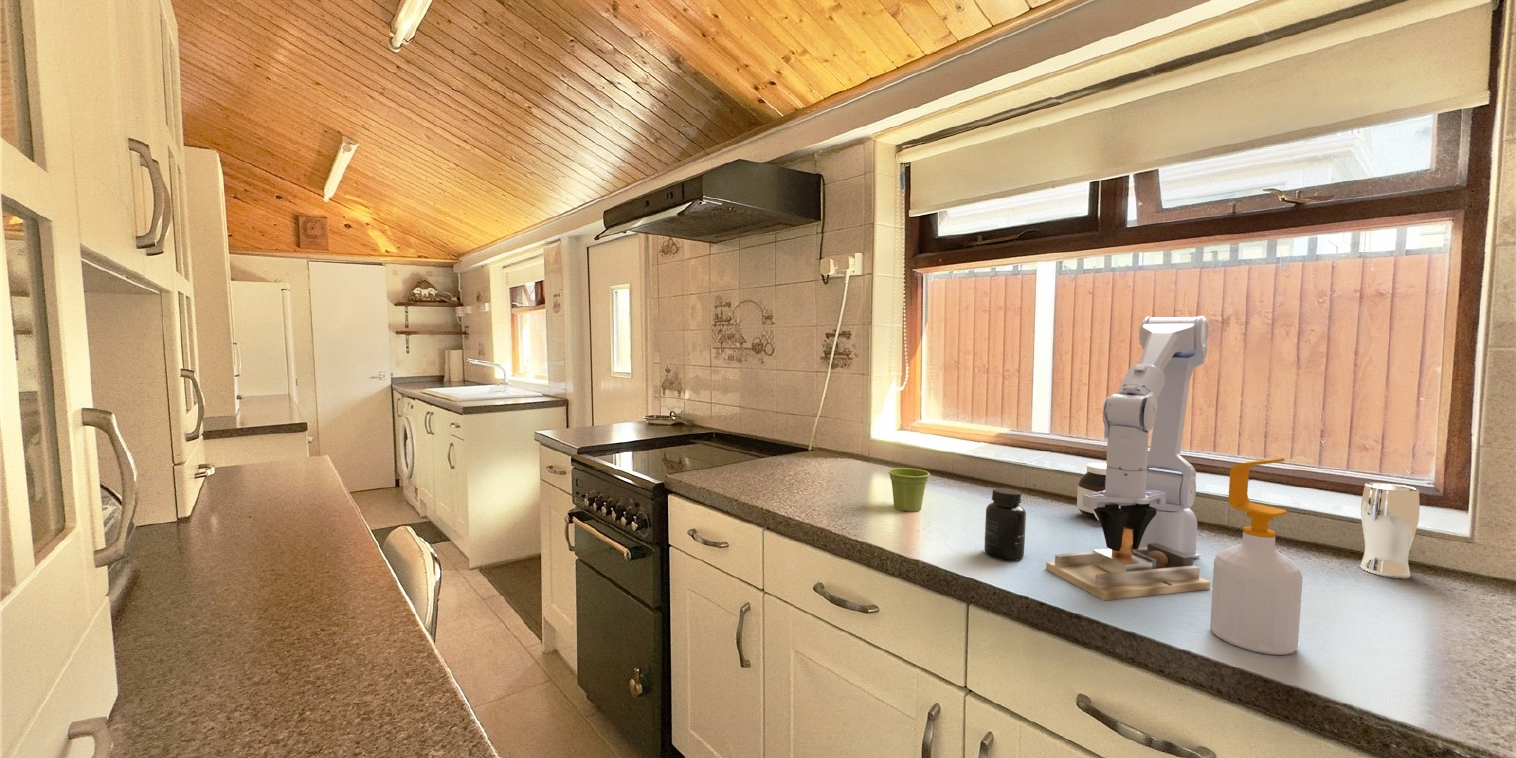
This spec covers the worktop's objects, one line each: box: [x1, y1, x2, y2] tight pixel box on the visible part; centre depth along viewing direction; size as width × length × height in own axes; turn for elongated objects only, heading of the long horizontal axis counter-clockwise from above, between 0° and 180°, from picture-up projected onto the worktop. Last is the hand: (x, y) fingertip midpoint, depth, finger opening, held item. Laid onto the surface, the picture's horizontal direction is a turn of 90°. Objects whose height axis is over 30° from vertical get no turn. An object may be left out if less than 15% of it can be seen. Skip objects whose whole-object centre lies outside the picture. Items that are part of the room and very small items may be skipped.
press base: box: [1045, 543, 1211, 601], centre depth 102 cm, size 20×13×4 cm, turn 103°
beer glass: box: [1359, 481, 1421, 580], centre depth 106 cm, size 7×7×15 cm
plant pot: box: [887, 467, 931, 513], centre depth 143 cm, size 9×9×9 cm
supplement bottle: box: [983, 487, 1027, 562], centre depth 113 cm, size 7×7×12 cm
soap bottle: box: [1209, 457, 1303, 656], centre depth 81 cm, size 9×9×25 cm
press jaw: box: [1092, 524, 1157, 573], centre depth 102 cm, size 6×7×7 cm
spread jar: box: [1076, 462, 1121, 522], centre depth 135 cm, size 12×11×12 cm
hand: (1122, 548), depth 102 cm, fingers closed on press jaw, 3 cm apart
